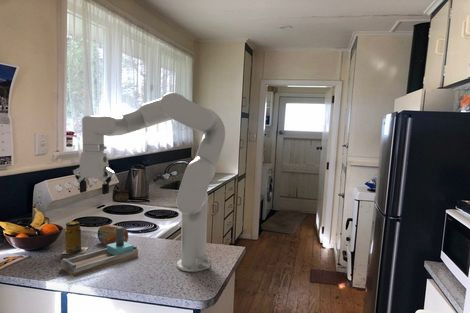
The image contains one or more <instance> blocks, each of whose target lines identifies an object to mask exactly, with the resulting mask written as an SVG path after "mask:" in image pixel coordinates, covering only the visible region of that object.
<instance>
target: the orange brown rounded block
mask: <svg viewBox="0 0 470 313" xmlns="http://www.w3.org/2000/svg"><path fill="white" fill-rule="evenodd" d="M117 227H122V226H121V225H112V224H105V225H102V226H101V225H100V226H99V228H98V230H97V239H98V241H99V242H100V243H101V244H103V245H106V246H107V245H108V244H112V243H115V242H116V228H117ZM128 241H129V232H128V230H127V229H126V227H124V242H127V243H128Z"/></svg>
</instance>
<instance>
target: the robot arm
mask: <svg viewBox="0 0 470 313" xmlns="http://www.w3.org/2000/svg"><path fill="white" fill-rule="evenodd" d="M172 120H173V121H175V122H177V123H179V124H181V125H183V126H186V127H187V128H190V129H192V130H194V131H196V132H200V133H201V132H202V137H201V139H200V141H199V145H198V149H197V152H196V154H195V157H194V159H193V160H191V161H190V162H189V163H188V165H187V166H186V168H185V170H184V172H183V176H182V179H181V182H180V185H179V189H178V191H177V193H176V194H177V195H176V199H175V203H176V204H175V205H176V208H177V210H179V212H180V213H181V222H180V223H181V224H180V228H181V229H180V230H181V231H180V232H181V234H180V237H181V238H180V239H181V240H180V242H181V243H180V248H181V249H180V259H178V260H177V262H176V267H177V269H178V270H180V271H183V272H187V273H188V272H190V273H196V272H202V271H206V270H207V269H209V268H211V265H213V261H212V260H209V255H208V254H207V226H208V225H207V224H208V220H207V219H208V203H209V194H208V189H209V186H210V185H211V180H213V178H214V176H215V174H216V170H217V166H218V163H219V160H220V158H221V154H222V153H221V152H222V151H223V150H222V149H224V148H223V146H224V144H225V139H226V128H225V124H224V122H223V120H222V119H221V116H220V115H218V113H216V112H215V111H214V110H213V109H210V108H208V107H204V106H202V105H199V104H198V103H195V102H193V101H192V100H189V99H188V98H186V96H184V95H183V94H180V93H177V92H167V93H166V94H164V95H163V96H162V97H161V98H158V99H155V100H151V101H149V102H146V103H142V104H141V105H140V107H139V108H138V109H136V110H134V111H130V112H127V113H124V114H121V115H103V116H100V115H84V116H83V117H82V118H81V127H82V128H81V130H82V132H81V135H82V136H81V137H82V151H81V154H80V160H79V167H77V168H76V169H73V170H72V173H73V174H74V176H75V179H76V180H77V183H79V184H78V186H79V193H80V194H82V193H85V192H87V181H86V180H87V179H98V180H101V182H102V184H101V186H102V187H101V188H102V189H101V190H102V191H101V192H102V195H106V194H109V191H110V183H111V181H113V179H114V177H115V174H116V172H115V171H114V170H112V169H110V167H109V166H110V165H109V159H108V155H107V152H106V151H105V150H107V148H108V147H107V146H106V145H105V141H104V140H105V137H104V136H107V137H113V136H115V137H116V136H122V135H126V134H130V133H133V132H136V131H139V130H143V129H145V128H149V127H153V126H155V125H158V124H161V123H165V122H167V121H172Z"/></svg>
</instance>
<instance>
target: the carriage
mask: <svg viewBox="0 0 470 313" xmlns="http://www.w3.org/2000/svg"><path fill="white" fill-rule="evenodd" d="M124 228H125V226H124V227H123V226H121V227H117V228H116V242H115V243H112V244H108V245H106V248H107V252H108V253H110V254H112V255H114V256H115V255H118V254H121V253H125V252H128V251H131V250H133V245H134V244H132V243H129V242H128V241H127V242H124Z"/></svg>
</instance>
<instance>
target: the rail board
mask: <svg viewBox="0 0 470 313" xmlns="http://www.w3.org/2000/svg"><path fill="white" fill-rule="evenodd" d="M132 245H133V250H131V251H128V252H125V253H121V254H118V255H115V256H114V255H112V254H110V253H108V252H107V247H106V248H103V249H99V250H95V251H91V252H88V253H83V254H81V255H77V256H74V257H69V258H62V260H60V262H61V263H60V265H61V269H62V270H63V271H65V272H66V273H67V274H70V275H71V276H73V277H74V278H75V277H78V276H81V275H84V274H87V273H90V272H94V271H96V270H100V269H103V268H106V267H109V266H112V265H116V264H119V263H122V262H125V261H128V260H131V259H134V258H137V257H139V249H138V248H137V247H138V246H136V245H134V244H132Z"/></svg>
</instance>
